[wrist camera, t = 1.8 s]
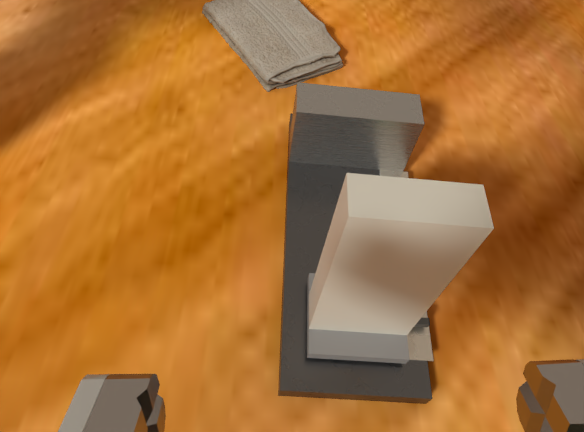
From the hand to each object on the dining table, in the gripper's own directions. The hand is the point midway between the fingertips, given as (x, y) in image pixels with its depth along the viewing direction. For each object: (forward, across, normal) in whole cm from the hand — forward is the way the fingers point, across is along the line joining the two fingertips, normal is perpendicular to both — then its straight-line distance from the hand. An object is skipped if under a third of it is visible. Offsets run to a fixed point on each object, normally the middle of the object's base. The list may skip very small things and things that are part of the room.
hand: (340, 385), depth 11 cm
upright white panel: (+24, -5, +20) cm, 32 cm away
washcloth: (+60, +3, +5) cm, 60 cm away
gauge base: (+33, -4, +18) cm, 37 cm away
